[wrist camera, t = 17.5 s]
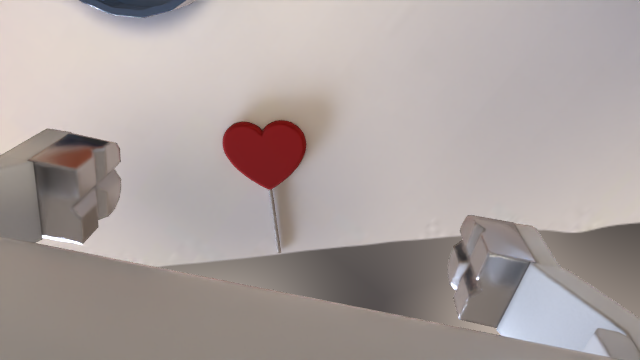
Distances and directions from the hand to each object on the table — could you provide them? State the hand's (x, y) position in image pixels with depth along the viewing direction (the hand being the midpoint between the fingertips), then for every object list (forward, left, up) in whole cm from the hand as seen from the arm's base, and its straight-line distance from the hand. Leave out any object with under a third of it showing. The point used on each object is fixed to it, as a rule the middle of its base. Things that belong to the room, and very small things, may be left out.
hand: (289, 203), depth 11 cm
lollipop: (+17, +6, -32) cm, 36 cm away
